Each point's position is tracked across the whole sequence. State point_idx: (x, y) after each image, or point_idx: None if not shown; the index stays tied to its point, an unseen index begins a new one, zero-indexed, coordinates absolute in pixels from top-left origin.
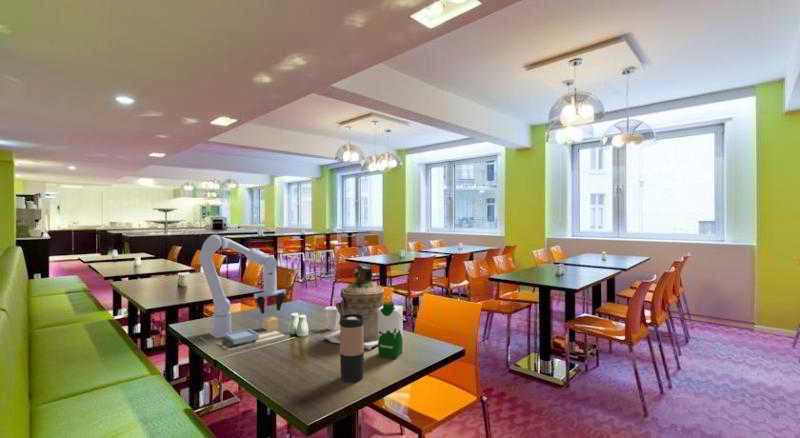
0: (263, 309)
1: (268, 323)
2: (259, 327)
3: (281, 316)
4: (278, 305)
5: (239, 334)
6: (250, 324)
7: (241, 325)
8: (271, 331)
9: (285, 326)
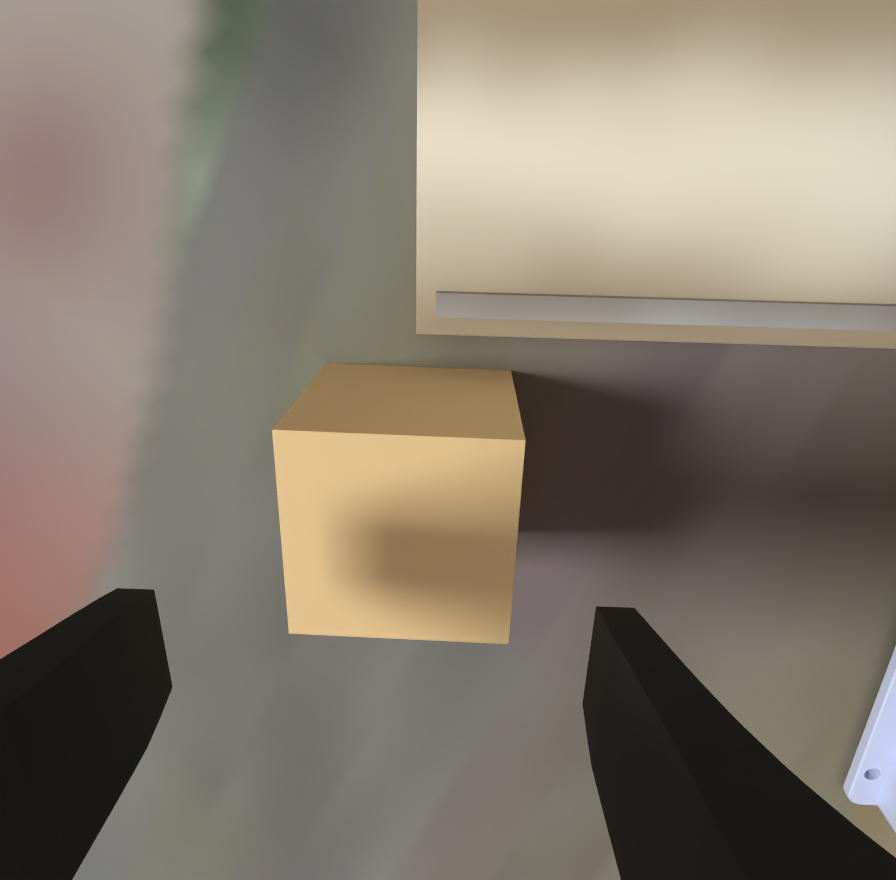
0: (666, 681)
1: (502, 418)
2: None
3: None
4: (64, 731)
5: None
6: (514, 803)
7: None
8: (490, 282)
9: (169, 423)
